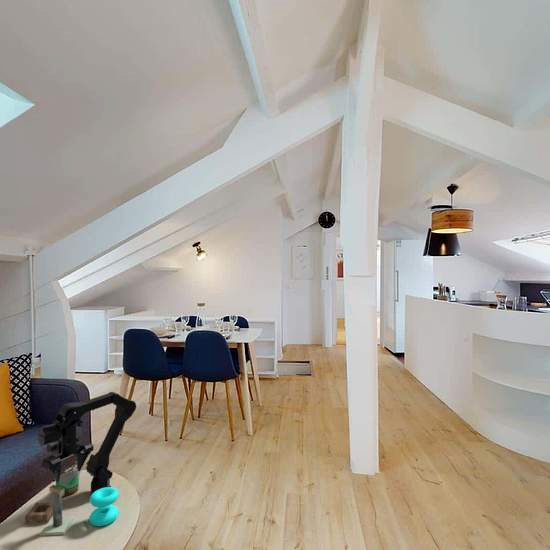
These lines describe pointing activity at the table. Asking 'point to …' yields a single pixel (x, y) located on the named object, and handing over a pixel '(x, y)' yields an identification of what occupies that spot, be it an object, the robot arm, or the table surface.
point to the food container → (69, 480)
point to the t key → (57, 504)
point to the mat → (57, 530)
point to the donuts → (104, 506)
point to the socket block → (39, 513)
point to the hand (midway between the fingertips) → (68, 476)
